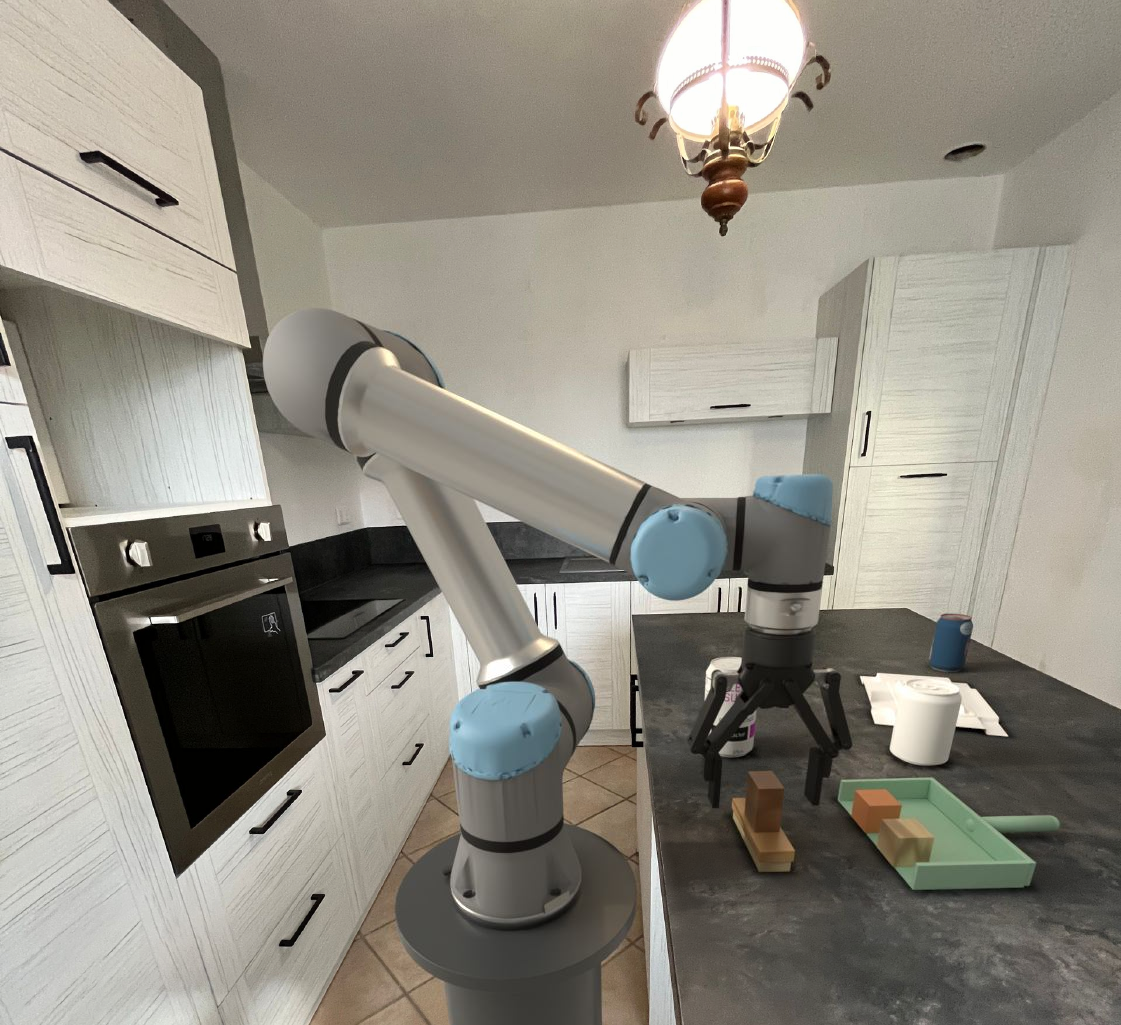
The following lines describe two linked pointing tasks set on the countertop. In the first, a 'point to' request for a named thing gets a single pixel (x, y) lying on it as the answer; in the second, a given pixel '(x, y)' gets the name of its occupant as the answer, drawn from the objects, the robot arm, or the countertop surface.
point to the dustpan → (956, 837)
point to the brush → (763, 822)
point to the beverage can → (925, 721)
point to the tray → (972, 707)
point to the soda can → (950, 642)
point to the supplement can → (745, 733)
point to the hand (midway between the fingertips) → (762, 801)
